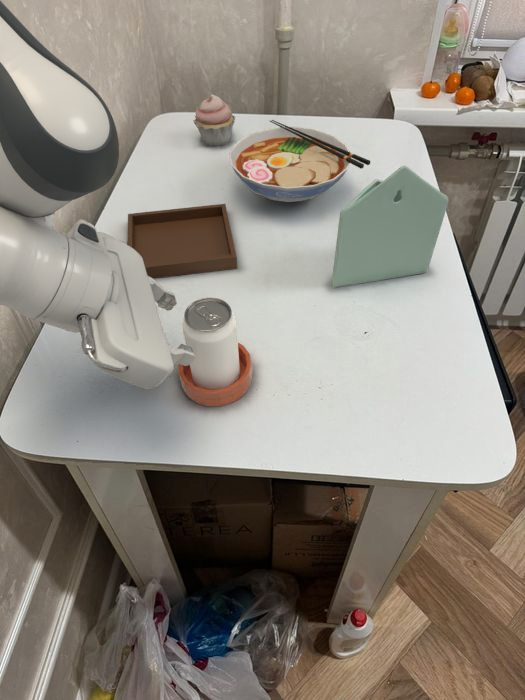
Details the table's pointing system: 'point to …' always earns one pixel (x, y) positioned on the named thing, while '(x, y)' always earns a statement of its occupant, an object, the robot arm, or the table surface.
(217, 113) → the cupcake
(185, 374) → the bowl
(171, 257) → the tray
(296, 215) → the table surface
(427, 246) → the planter
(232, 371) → the can
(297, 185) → the ramen bowl
